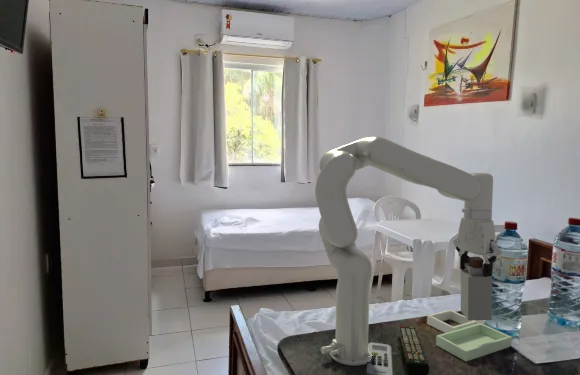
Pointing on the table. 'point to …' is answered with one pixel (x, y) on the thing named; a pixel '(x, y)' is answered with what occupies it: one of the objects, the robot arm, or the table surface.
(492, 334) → the green bin
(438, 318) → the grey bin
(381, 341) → the table surface
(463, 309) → the perfume bottle
